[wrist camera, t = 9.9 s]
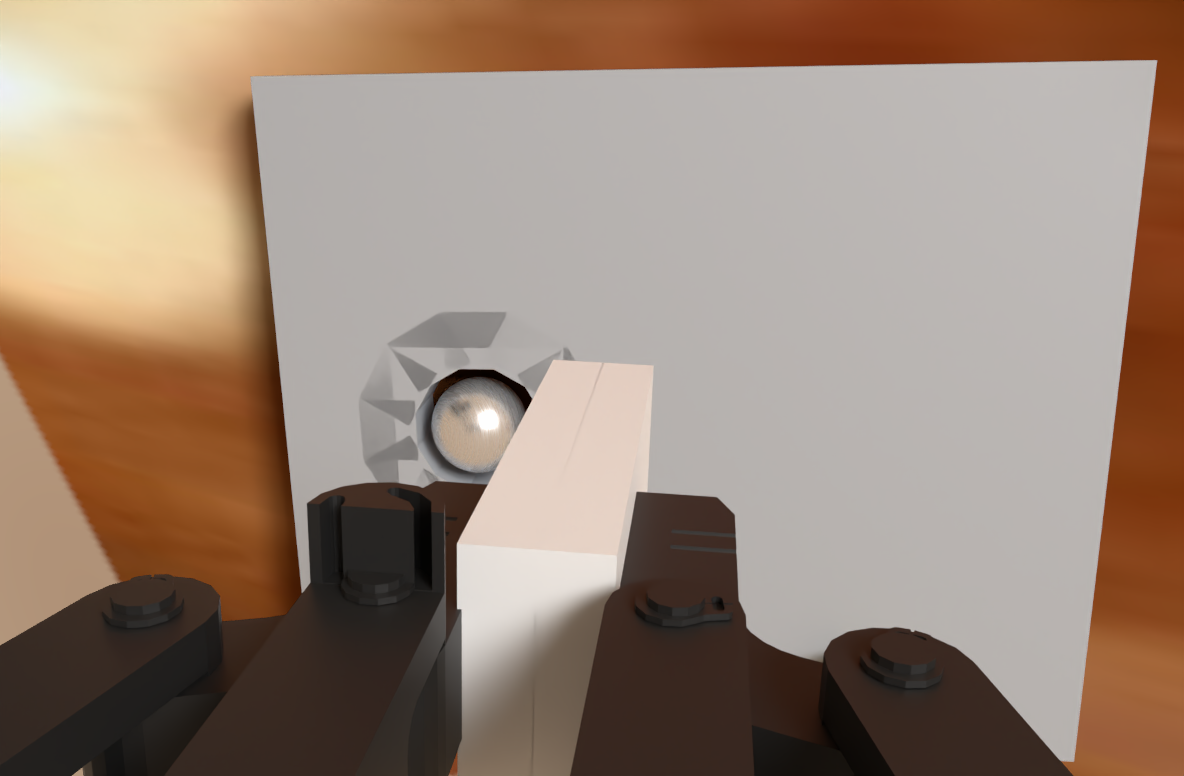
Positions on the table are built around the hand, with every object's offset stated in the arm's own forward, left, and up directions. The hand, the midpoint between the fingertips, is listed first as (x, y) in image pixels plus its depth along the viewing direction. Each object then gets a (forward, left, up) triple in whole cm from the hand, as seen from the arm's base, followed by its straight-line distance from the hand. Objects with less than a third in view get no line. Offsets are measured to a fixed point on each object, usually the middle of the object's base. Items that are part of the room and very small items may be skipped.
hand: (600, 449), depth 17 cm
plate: (+1, -7, -23) cm, 24 cm away
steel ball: (-7, -7, -21) cm, 23 cm away
